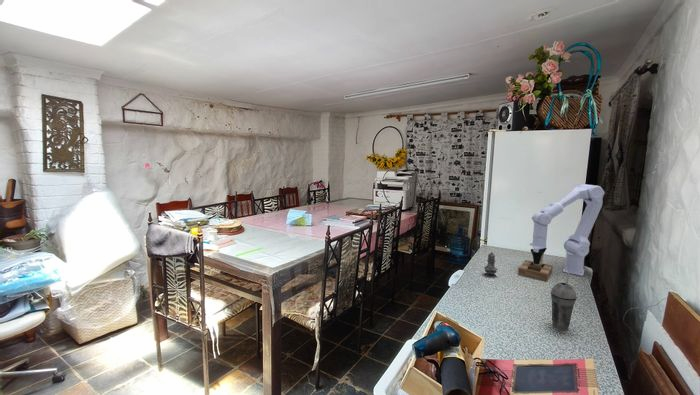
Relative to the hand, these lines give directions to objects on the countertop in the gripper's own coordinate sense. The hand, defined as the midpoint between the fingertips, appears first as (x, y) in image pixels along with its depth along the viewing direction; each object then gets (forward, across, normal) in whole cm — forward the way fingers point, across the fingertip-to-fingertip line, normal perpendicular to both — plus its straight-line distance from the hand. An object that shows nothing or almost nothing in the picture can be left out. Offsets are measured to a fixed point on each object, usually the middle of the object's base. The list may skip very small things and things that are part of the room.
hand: (537, 262), depth 152 cm
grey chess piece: (+5, +21, -16) cm, 27 cm away
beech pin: (+2, 0, 0) cm, 3 cm away
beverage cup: (+5, +52, +16) cm, 54 cm away
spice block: (+5, +4, 0) cm, 6 cm away
